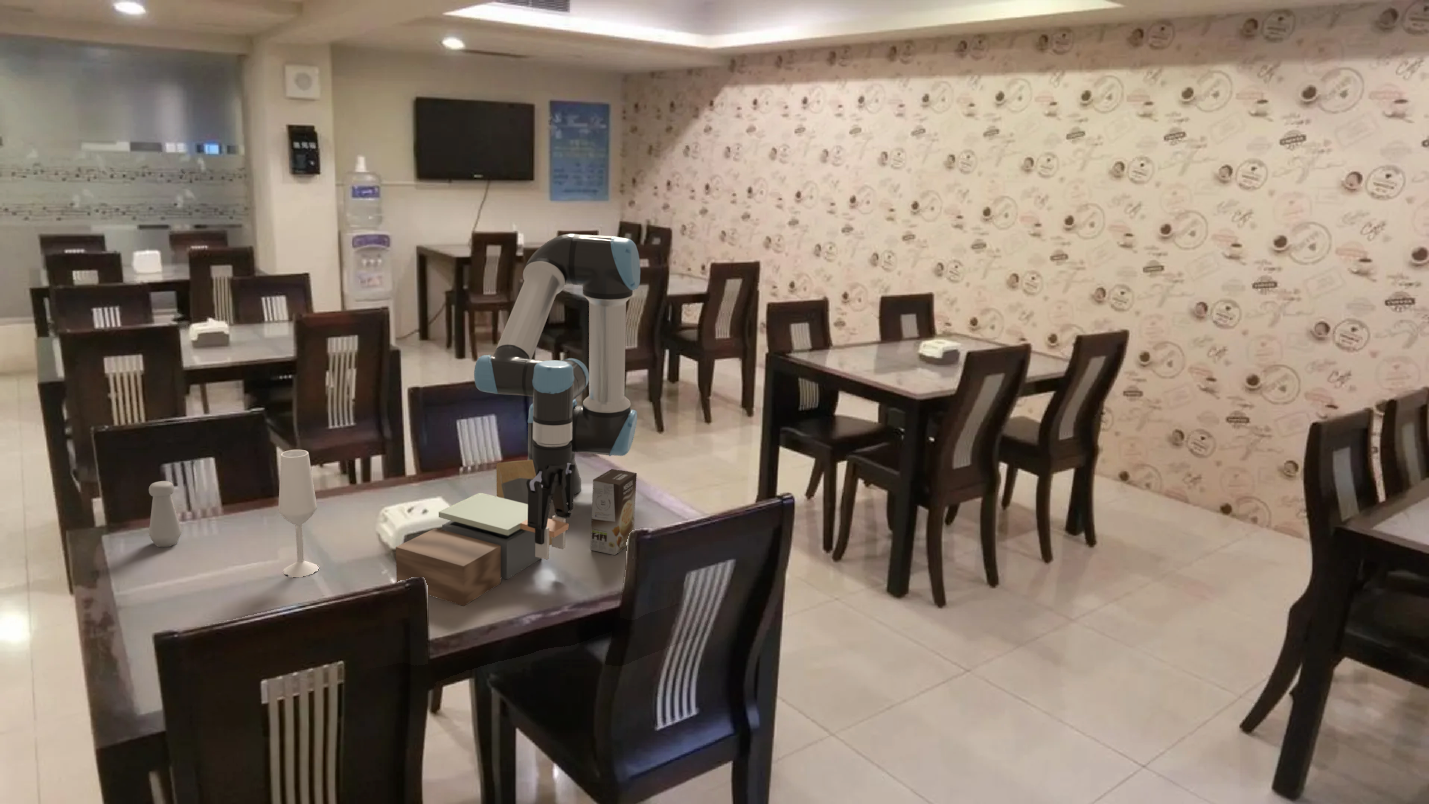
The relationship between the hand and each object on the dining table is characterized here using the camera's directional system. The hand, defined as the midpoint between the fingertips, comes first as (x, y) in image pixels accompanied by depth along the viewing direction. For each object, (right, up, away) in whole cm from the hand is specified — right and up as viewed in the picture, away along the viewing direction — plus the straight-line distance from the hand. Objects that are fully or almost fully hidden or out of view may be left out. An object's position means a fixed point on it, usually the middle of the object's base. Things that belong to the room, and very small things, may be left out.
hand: (550, 552), depth 182 cm
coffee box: (+10, -2, +17) cm, 20 cm away
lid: (-9, +6, +3) cm, 11 cm away
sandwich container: (-9, 0, +20) cm, 22 cm away
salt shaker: (-79, +1, +4) cm, 79 cm away
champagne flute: (-48, -3, -3) cm, 48 cm away
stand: (-19, -5, -5) cm, 20 cm away
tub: (-13, -3, +7) cm, 15 cm away
